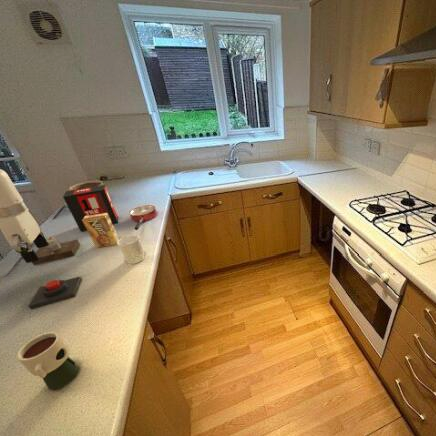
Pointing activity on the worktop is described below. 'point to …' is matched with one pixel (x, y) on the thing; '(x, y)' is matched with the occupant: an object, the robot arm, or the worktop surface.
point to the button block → (56, 293)
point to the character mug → (48, 360)
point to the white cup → (131, 248)
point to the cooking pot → (86, 185)
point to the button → (52, 285)
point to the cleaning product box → (89, 204)
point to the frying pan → (142, 214)
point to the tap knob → (53, 244)
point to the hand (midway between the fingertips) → (38, 253)
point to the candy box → (100, 230)
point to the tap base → (57, 252)
